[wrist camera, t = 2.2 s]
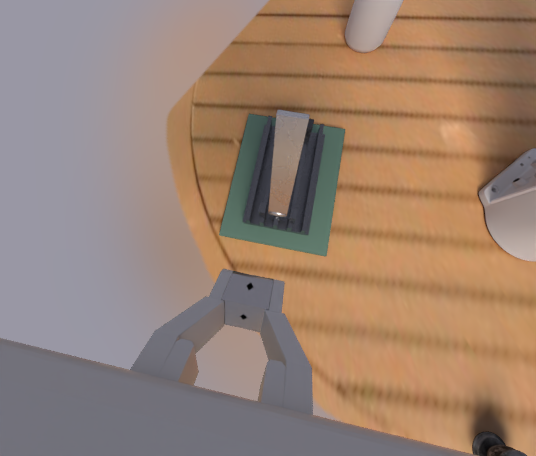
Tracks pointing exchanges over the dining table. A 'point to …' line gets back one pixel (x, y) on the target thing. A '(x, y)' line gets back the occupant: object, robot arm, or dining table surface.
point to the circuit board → (322, 201)
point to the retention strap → (286, 159)
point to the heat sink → (302, 188)
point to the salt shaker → (492, 446)
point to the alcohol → (370, 23)
